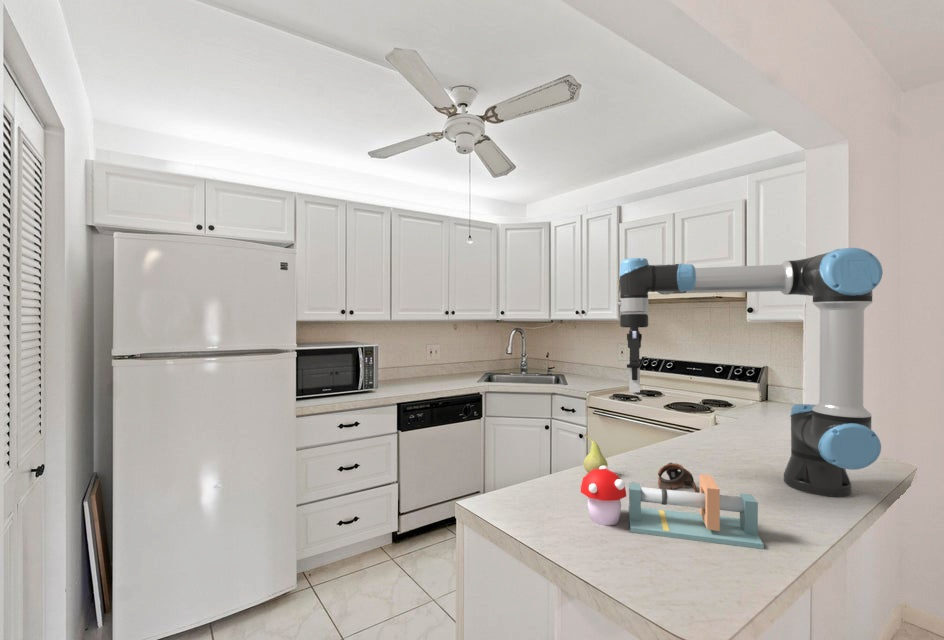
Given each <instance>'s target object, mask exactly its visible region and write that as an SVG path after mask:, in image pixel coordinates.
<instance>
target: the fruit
mask: <svg viewBox="0 0 944 640" xmlns="http://www.w3.org/2000/svg"><path fill="white" fill-rule="evenodd" d="M583 436H585V437H586V438H587V439H588V440H590V443H591V447H590V450H589V453H588V454H587V455H586V456H585V458H584V460H583V467H584V470H585V471H586V472H587V474H588V473H589V472H590V471H591V470H592V469H599V467H601V466H606V467H607V468H608V465H609V464H608V461H607V460H606V457H604V455H603V453H602V451H601V448H600V446H599V444H598V443H597V442H596V441H595V440H592V439H591V437H590V436H588V435H587V433H584V435H583Z"/></svg>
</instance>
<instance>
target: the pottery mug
mask: <svg viewBox="0 0 944 640" xmlns="http://www.w3.org/2000/svg"><path fill="white" fill-rule="evenodd" d="M665 472H666V475H668V479H666V478H664V477H662V475H663V474H664V473H665ZM657 475H658V479H657V480H658V482H657V485H658V489H661V488H662V489H666V490H676V489H679V488H682V489H686V487H688V488H692V489H693V490H694V492H696V493H698V490H697V485H696V483H695V480H694V476H693V474H692V473H691V472H690V471H689V470H688V469H686V468H684V466H682V465H681V464H679V463H673V462H669V463H667V464H665V465H664V466H662V467H661V468H660V469H659V470H658V472H657Z"/></svg>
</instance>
